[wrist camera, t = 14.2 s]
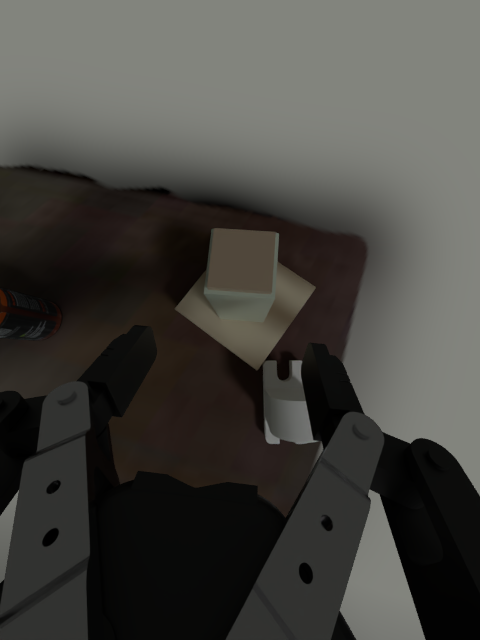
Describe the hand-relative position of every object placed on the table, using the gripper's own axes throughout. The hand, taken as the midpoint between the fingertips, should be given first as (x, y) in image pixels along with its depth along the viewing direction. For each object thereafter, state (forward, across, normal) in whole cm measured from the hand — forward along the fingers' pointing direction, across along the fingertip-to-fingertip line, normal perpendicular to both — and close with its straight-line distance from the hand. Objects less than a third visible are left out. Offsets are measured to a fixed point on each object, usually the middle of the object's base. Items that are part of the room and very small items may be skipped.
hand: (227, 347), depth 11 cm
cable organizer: (+10, -7, +17) cm, 21 cm away
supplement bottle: (+15, +29, +12) cm, 35 cm away
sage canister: (+14, 0, +5) cm, 15 cm away
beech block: (+18, 0, +9) cm, 20 cm away
